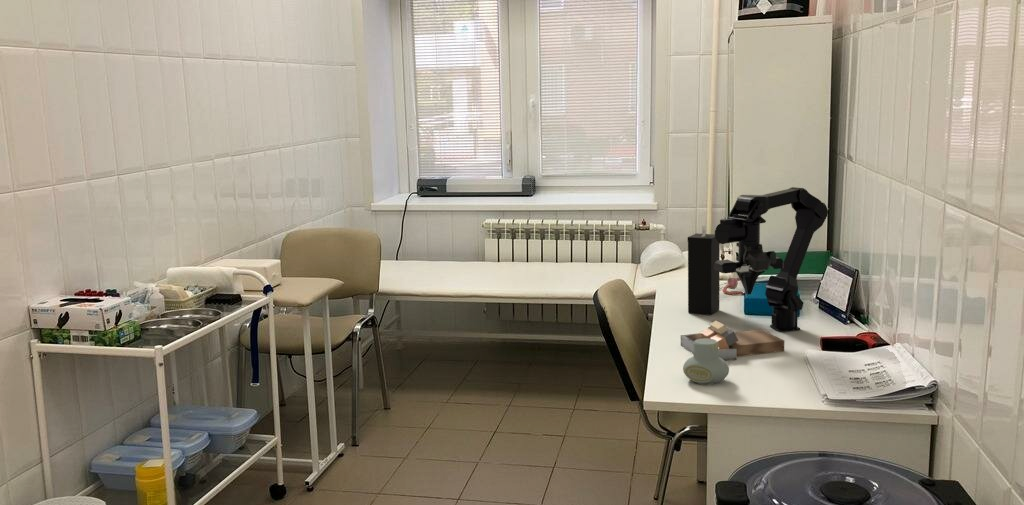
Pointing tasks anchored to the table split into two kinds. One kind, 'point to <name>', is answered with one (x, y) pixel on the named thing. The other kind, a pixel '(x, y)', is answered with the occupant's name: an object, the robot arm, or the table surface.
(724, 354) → the tray
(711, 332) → the tile
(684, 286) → the table surface
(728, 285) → the pink ball with cord
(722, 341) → the tile
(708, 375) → the air freshener
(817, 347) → the table surface
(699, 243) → the tall black pillar
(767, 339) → the board
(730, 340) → the grey and beige block
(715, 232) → the robot arm
